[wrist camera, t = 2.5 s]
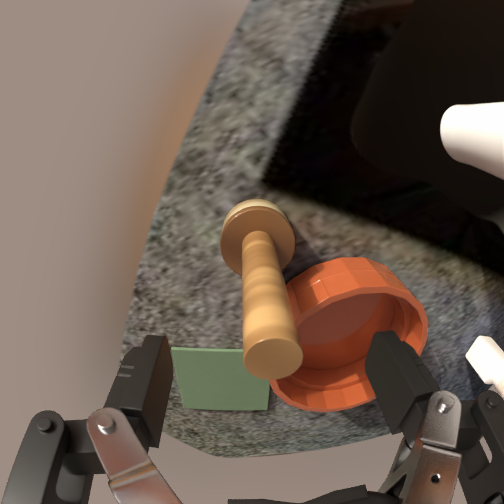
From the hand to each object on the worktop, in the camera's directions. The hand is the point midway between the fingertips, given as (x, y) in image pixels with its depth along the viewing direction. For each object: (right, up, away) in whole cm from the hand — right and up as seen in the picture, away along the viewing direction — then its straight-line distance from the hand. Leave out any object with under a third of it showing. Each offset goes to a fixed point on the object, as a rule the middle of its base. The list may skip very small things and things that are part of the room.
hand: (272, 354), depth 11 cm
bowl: (+7, -3, +16) cm, 18 cm away
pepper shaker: (+31, -9, +20) cm, 38 cm away
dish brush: (0, +5, +12) cm, 14 cm away
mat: (-4, -10, +19) cm, 22 cm away
